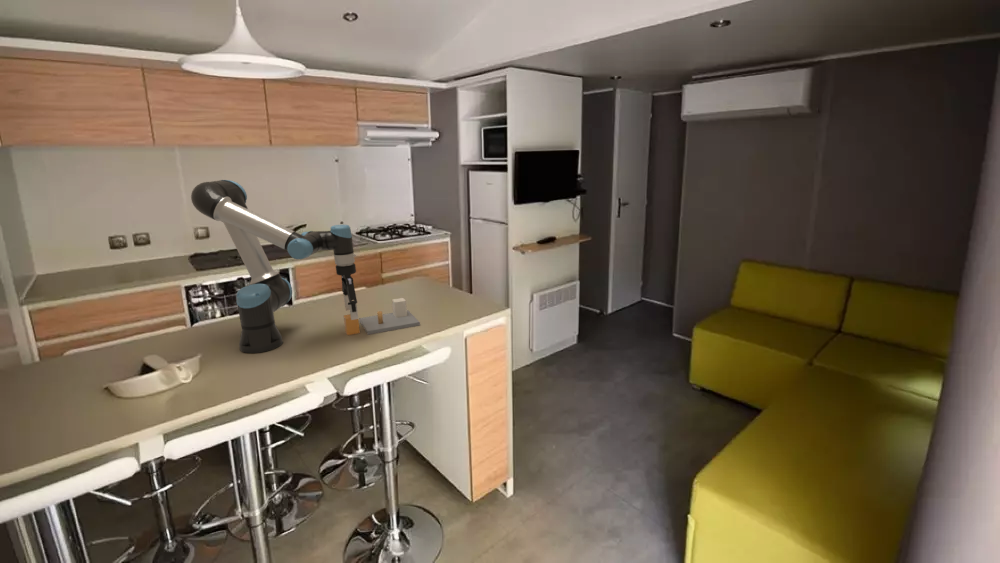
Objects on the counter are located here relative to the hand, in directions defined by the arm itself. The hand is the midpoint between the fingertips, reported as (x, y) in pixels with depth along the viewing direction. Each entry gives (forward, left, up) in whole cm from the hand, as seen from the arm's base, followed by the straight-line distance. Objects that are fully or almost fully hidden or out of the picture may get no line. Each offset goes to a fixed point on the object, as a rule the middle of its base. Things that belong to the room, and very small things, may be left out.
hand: (351, 314), depth 198 cm
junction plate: (+16, +3, -8) cm, 18 cm away
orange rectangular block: (0, 0, -8) cm, 8 cm away
